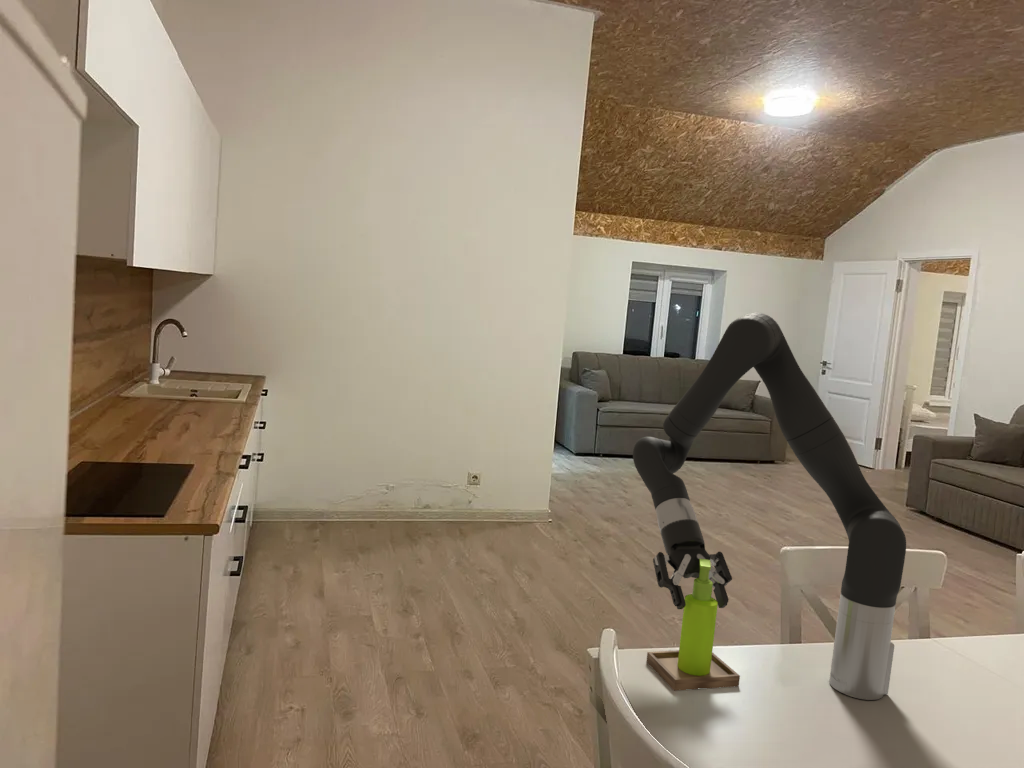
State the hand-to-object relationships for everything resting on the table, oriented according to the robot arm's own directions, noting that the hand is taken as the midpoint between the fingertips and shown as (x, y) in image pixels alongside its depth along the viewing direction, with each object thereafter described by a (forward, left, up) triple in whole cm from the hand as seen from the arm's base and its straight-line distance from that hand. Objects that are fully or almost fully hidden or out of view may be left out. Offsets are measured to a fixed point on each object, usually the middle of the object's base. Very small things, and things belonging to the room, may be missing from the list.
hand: (703, 607), depth 143 cm
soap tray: (0, -1, -13) cm, 13 cm away
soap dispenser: (0, -2, -12) cm, 12 cm away
